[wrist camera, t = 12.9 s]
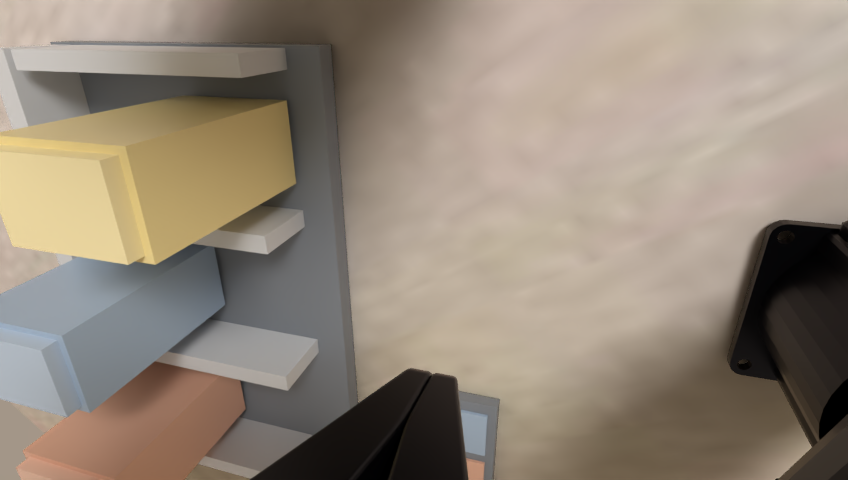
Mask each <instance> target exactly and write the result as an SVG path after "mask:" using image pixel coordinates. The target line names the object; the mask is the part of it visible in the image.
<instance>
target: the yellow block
mask: <svg viewBox="0 0 848 480" xmlns="http://www.w3.org/2000/svg"><path fill="white" fill-rule="evenodd" d="M294 184H296V177H295V168H294V160H293V151H292V142H291V134H290V125H289V116H288V107H287V100H270V99H249V98H227V97H206V96H185V95H184V96H179V97H174V98H169V99H164V100H159V101H154V102H149V103H144V104H139V105H134V106H129V107H124V108H119V109H114V110H109V111H104V112H99V113H94V114H89V115H84V116H79V117H74V118H69V119H64V120H59V121H54V122H49V123H44V124H39V125H34V126H29V127H24V128H19V129H14V130H9V131H4V132H0V214H1V216H2V219H3V222H4V224H5V227H6V230H7V232H8V235H9V237H10V240H11V243H12V245H13V246H15V247H21V248H27V249H33V250H40V251H46V252H52V253H58V254H64V255H70V256H77V257H83V258H89V259H95V260H101V261H107V262H114V263H120V264H126V265H129V264H131V263H133V262H141V263H147V264H154V265H156V264H158V263H159V262H161V261H163V260H165V259H166V258H168V257H170V256H172V255H173V254H175V253H177V252H178V251H180V250H182V249H184V248H185V247H187V246H189V245H191V244H192V243H194V242H196V241H198V240H199V239H201V238H203V237H204V236H206V235H208V234H210V233H211V232H213V231H215V230H217V229H218V228H220V227H222V226H223V225H225V224H227V223H229V222H230V221H232V220H234V219H236V218H237V217H239V216H241V215H242V214H244V213H246V212H248V211H249V210H251V209H253V208H255V207H256V206H258V205H260V204H261V203H263V202H265V201H267V200H268V199H270V198H272V197H274V196H275V195H277V194H279V193H281V192H282V191H284V190H286V189H287V188H289V187H291V186H293V185H294Z"/></svg>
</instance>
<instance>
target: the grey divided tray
mask: <svg viewBox="0 0 848 480" xmlns="http://www.w3.org/2000/svg"><path fill="white" fill-rule="evenodd" d="M50 43H51V45H36V46H18V47H0V95H1V98H2V101H3V103H4V106H5V109H6V112H7V115H8V118H9V121H10V124H11V127H12V129H13V130H14V129H19V128H24V127H29V126H34V125H39V124H44V123H49V122H54V121H59V120H64V119H69V118H74V117H79V116H84V115H89V114H94V113H99V112H104V111H109V110H114V109H119V108H124V107H129V106H134V105H139V104H144V103H149V102H154V101H159V100H164V99H169V98H174V97H179V96H184V95H185V96H206V97H227V98H249V99H270V100H287V107H288V116H289V125H290V134H291V142H292V151H293V160H294V168H295V177H296V184H294V185H293V186H291V187H289V188H287V189H286V190H284V191H282V192H281V193H279V194H277V195H275V196H274V197H272V198H270V199H268V200H267V201H265V202H263V203H261V204H260V205H258V206H256V207H255V208H253V209H251V210H249V211H248V212H246V213H244V214H242V215H241V216H239V217H237V218H236V219H234V220H232V221H230V222H229V223H227V224H225V225H223V226H222V227H220V228H218V229H217V230H215V231H213V232H211V233H210V234H208V235H206V236H204V237H203V238H201V239H199V240H198V241H196V242H194V243H192V244H198V245H205V246H212V247H214V249H215V254H216V259H217V264H218V269H219V274H220V279H221V284H222V290H223V295H224V300H225V305H224V306H223V307H222V308H221V309H219V310H218V311H217V312H216V313H214V314H213V315H212V316H211V317H209V318H208V319H207V320H206V321H204V322H203V323H202V324H201V325H199V326H198V327H197V328H196V329H194V330H193V331H192V332H191V333H189V334H188V335H187V336H186V337H184V338H183V339H182V340H181V341H179V342H178V343H177V344H176V345H174V346H173V347H172V348H171V349H169V350H168V351H167V352H166V353H164V354H163V355H162V356H161V357H159V358H158V359H157V360H156V362H161V363H165V364H170V365H174V366H179V367H183V368H188V369H192V370H197V371H201V372H206V373H210V374H215V375H219V376H224V377H228V378H233V379H237V380H240V382H241V387H242V392H243V397H244V402H245V407H246V409H245V410H244V411H243V412H242V414H241V415H240V416H239V417H238V418H237V419H236V421H235V422H234V423H233V424H232V425H231V426H230V427H229V429H228V430H227V431H226V432H225V433H224V434H223V436H222V437H221V438H220V439H219V440H218V441H217V442H216V444H215V445H214V446H213V447H212V448H211V449H210V450H209V452H208V453H207V454H206V455H205V456H204V457H203V459H202V460H201V461H200V462H199V463H198V464H199V465H203V466H207V467H210V468H214V469H217V470H221V471H224V472H228V473H231V474H235V475H238V476H242V477H246V478H249V479H251V478H252V477H254V476H255V475H257V474H258V473H260V472H261V471H262V470H264V469H265V468H267V467H268V466H270V465H271V464H272V463H274V462H275V461H277V460H278V459H280V458H281V457H282V456H284V455H285V454H287V453H288V452H290V451H291V450H292V449H294V448H295V447H297V446H298V445H300V444H301V443H302V442H304V441H305V440H307V439H308V438H310V437H311V436H312V435H314V434H315V433H317V432H318V431H320V430H321V429H322V428H324V427H325V426H327V425H328V424H330V423H331V422H332V421H334V420H335V419H337V418H338V417H340V416H341V415H342V414H344V413H345V412H347V411H348V410H350V409H351V408H352V407H354V406H355V405H357V404H358V397H357V383H356V370H355V357H354V344H353V330H352V317H351V304H350V291H349V277H348V264H347V251H346V238H345V225H344V211H343V198H342V185H341V172H340V158H339V145H338V132H337V119H336V105H335V92H334V79H333V66H332V53H331V44H257V43H181V42H105V41H61V42H50ZM55 254H56V257H57V260H58V263H59V265H60V266H61V265H63V264H65V263H67V262H69V261H71V260H73V259H75V258H77V256H70V255H64V254H58V253H55Z"/></svg>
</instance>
